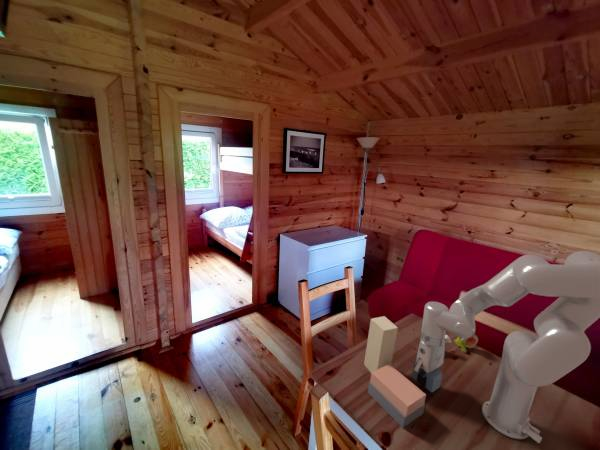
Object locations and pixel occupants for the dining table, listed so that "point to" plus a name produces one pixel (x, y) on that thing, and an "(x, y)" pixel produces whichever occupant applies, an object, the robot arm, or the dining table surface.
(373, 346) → the toy refrigerator
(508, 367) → the robot arm
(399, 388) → the pink and grey block
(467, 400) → the dining table surface
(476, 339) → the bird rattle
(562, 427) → the dining table surface
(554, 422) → the dining table surface
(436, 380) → the slate brick
